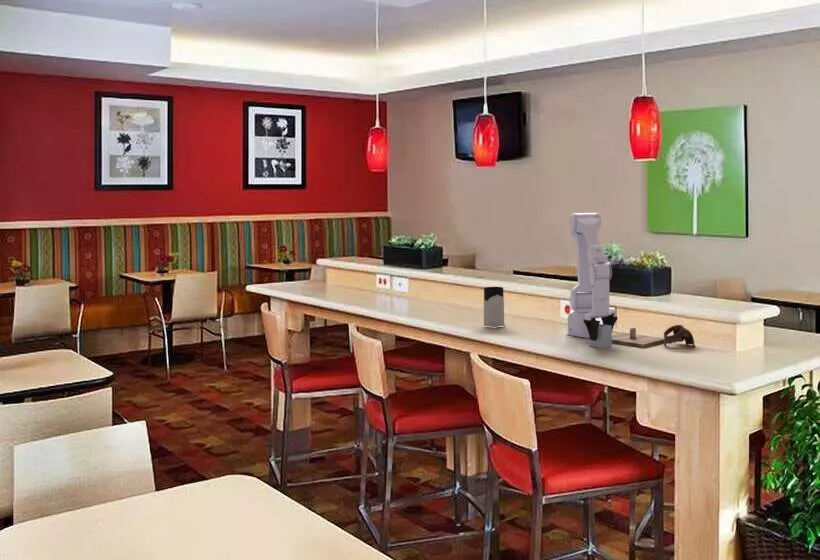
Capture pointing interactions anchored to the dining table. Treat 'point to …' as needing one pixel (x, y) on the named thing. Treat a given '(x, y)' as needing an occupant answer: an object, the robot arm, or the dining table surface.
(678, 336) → the brown curved band
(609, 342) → the sleeve
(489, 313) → the glass holder
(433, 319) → the dining table surface
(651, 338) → the pin plate
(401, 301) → the dining table surface
